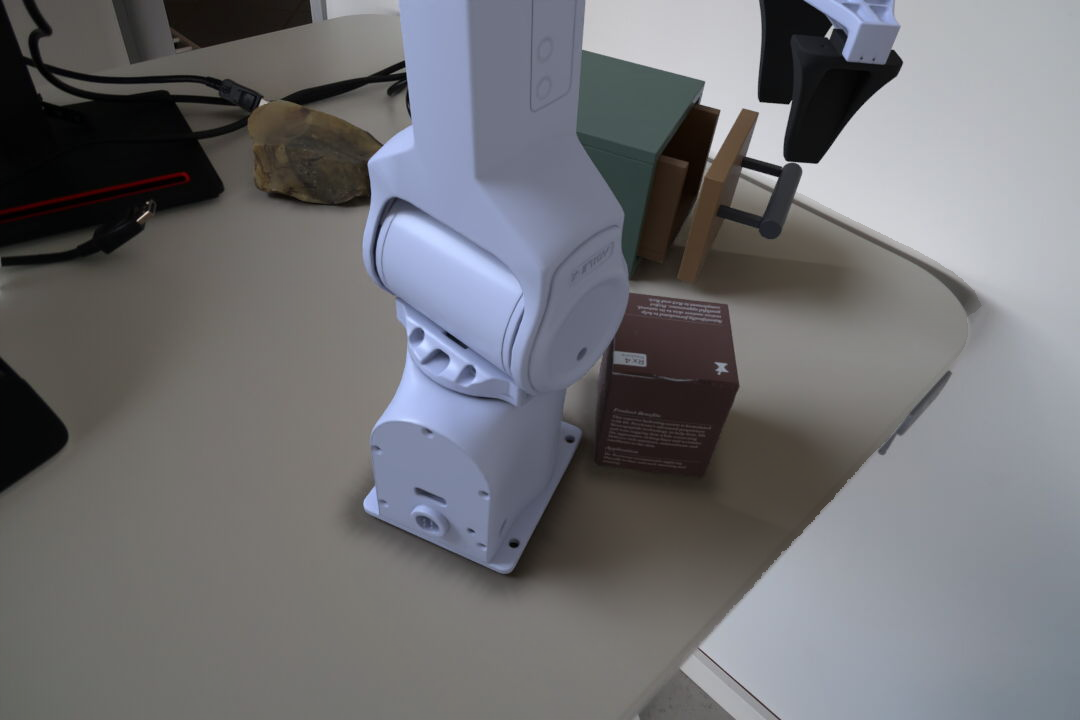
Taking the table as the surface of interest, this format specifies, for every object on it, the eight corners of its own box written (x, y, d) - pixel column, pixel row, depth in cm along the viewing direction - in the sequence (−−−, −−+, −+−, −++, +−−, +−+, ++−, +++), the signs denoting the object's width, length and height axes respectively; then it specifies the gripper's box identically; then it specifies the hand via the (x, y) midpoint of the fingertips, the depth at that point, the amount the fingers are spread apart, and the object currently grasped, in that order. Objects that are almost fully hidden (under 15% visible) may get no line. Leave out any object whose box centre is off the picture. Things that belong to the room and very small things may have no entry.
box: (698, 398, 43) (732, 302, 38) (705, 482, 39) (743, 387, 33) (595, 384, 43) (614, 287, 38) (589, 467, 39) (610, 370, 33)
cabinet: (676, 199, 58) (705, 80, 51) (629, 280, 50) (656, 153, 43) (520, 152, 61) (528, 35, 54) (453, 222, 53) (452, 95, 47)
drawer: (783, 224, 55) (819, 127, 49) (754, 304, 48) (792, 202, 42) (577, 163, 59) (590, 67, 53) (523, 229, 52) (531, 126, 46)
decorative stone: (401, 151, 60) (399, 110, 57) (365, 214, 53) (361, 170, 51) (277, 132, 60) (269, 91, 58) (225, 192, 54) (214, 148, 51)
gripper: (1011, -72, 32) (884, 195, 42) (899, -144, 42) (818, 83, 52) (854, -87, 32) (762, 186, 41) (779, -156, 42) (720, 75, 52)
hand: (786, 129), depth 47 cm, fingers open, 7 cm apart
